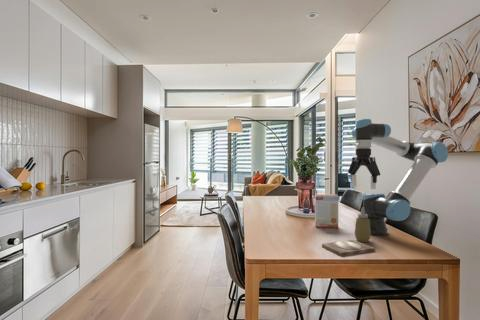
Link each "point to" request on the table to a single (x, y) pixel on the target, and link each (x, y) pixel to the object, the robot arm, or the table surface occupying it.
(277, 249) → the table surface
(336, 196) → the cracker box
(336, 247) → the walnut board
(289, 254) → the table surface
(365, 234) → the squeeze bottle
